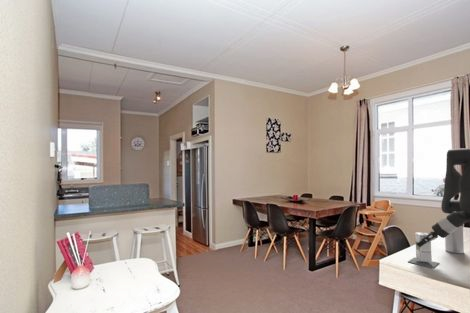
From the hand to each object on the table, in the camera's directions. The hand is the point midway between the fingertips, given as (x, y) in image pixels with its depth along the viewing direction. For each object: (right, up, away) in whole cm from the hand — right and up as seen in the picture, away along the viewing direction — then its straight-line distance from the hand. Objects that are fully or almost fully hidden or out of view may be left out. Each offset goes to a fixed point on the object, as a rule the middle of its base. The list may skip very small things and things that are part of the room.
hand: (420, 244), depth 153 cm
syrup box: (+1, -8, -1) cm, 9 cm away
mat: (+1, -10, -1) cm, 10 cm away
